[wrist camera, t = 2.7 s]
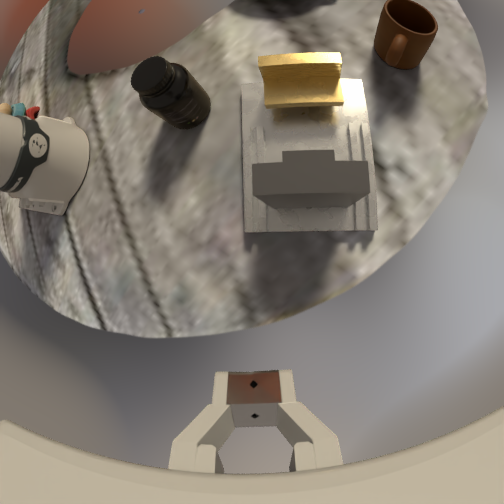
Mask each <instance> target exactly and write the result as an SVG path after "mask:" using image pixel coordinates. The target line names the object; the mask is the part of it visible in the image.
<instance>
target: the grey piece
mask: <svg viewBox="0 0 504 504" xmlns="http://www.w3.org/2000/svg"><path fill="white" fill-rule="evenodd" d="M258 65H259V69H260V72H261V75H262V78H263V82H259V83H250V84H242V139H243V186H244V227H245V232H289V231H363V230H378V221H377V198H376V183H375V171H374V160H373V151H372V142H371V134H370V127H369V120H368V113H367V107H366V101H365V96H364V90H363V85H362V80H359V79H340V73H341V66H342V61H341V56H340V53H295V54H279V55H268V56H258ZM294 150H334V153H335V161H368V168H369V181H370V193H369V194H368V195H366V196H365V197H363V198H362V199H360V200H359V201H357V202H356V203H354V204H353V205H351V206H350V207H301V208H271V207H270V206H268V205H267V204H265V203H264V202H262V201H261V200H259V199H258V198H256V197H255V196H253V189H252V164H257V163H273V162H283V161H282V151H294Z"/></svg>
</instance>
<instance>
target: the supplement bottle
mask: <svg viewBox="0 0 504 504" xmlns="http://www.w3.org/2000/svg"><path fill="white" fill-rule="evenodd" d="M131 85H132V87H133V88H134V90H136V91H137V92H138V93H139V97H140V101H141V103H142V104H143V106H144V107H146V108H147V109H148V110H150V111H151V112H153V113H154V114H156V115H157V116H159V117H160V118H162V119H163V120H165V121H166V122H168V123H169V124H171V125H172V126H174V127H176V128H178V129H190V128H193V127H195V126H197V125H199V124H200V123H201V122H203V121H204V119H205V118H206V117H207V115H208V113H209V111H210V106H211V102H210V98H209V96H208V94H207V93H206V91H205V90H204V89H203V88H202V87H201V85H200V84H199V83H198V82H197V81H196V80H195V78H194V77H193V76H192V75H191V74H190V73H189V71H188V70H187V69H186V68H185V67H183V66H182V65H180V64H177V63H169V62H168V61H167V60H165V59H164V58H162V57H159V56H157V57H156V56H154V57H150V58H148V59H146V60H144V61H143V62H141V63H140V64H139V65H138V66H137V68H136V69H135V70H134V72H133V74H132V77H131Z"/></svg>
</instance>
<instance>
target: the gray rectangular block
mask: <svg viewBox="0 0 504 504" xmlns="http://www.w3.org/2000/svg"><path fill="white" fill-rule="evenodd" d="M282 161H283V162H273V163H257V164H252V189H253V196H255V197H256V198H258V199H259V200H261V201H262V202H264V203H265V204H267V205H268V206H270V207H271V208H301V207H350V206H351V205H353V204H354V203H356V202H357V201H359V200H360V199H362V198H363V197H365V196H366V195H368V194H369V193H370V181H369V168H368V161H335V153H334V150H294V151H282Z"/></svg>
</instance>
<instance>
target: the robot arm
mask: <svg viewBox="0 0 504 504" xmlns="http://www.w3.org/2000/svg"><path fill="white" fill-rule="evenodd" d="M88 161H89V142H88V138H87V136H86V134H85V133H84V131H83V130H82V129H80V128H78V127H77V126H76V125H75V122H74V120H73V118H70V117H66V118H65V119H63V120H62V121H61V120H57V119H54V118H50V117H45V116H39V117H38V118H36V119H35V120H34V119H31V118H29V117H27V116H20V115H16V116H11V115H8V114H5V113H1V112H0V191H2V192H9V195H10V197H11V198H20V201H19V208H24V209H27V210H33V211H38V212H44V213H49V214H55V215H60V216H61V215H63V214H64V213H65V211H66V208H67V206H68V203H69V201H70V199H71V198H72V197H73V195H74V194H75V193H76V191H77V190H78V188H79V187H80V185H81V183H82V181H83V179H84V176H85V173H86V170H87V166H88ZM263 426H277V428H278V429H279V431H280V432H281V433H282V434H283V435H284V437H285V438H286V439H287V441H288V442H289V443H290V444H291V445H292V447H293V453H292V457H291V462H290V466H289V470H290V472H282V473H265V474H224V468H223V465H222V463H221V460H220V457H219V455H218V451H219V450H220V448H221V447H222V445H223V444H224V443H225V441H226V440H227V439H228V437H229V436H230V434H231V433H232V432H233V430H234V429H235V427H263ZM0 504H504V406H502V407H500V408H499V409H497V410H495V411H493V412H491V413H490V414H488V415H486V416H484V417H482V418H480V419H478V420H476V421H474V422H472V423H470V424H468V425H466V426H464V427H461V428H459V429H457V430H455V431H452V432H450V433H448V434H445V435H443V436H440V437H438V438H435V439H433V440H430V441H427V442H425V443H422V444H419V445H416V446H413V447H410V448H407V449H404V450H401V451H397V452H394V453H391V454H387V455H383V456H380V457H376V458H371V459H367V460H363V461H358V462H354V463H349V464H343V461H342V457H341V451H340V446H339V442H338V437H337V436H336V435H335V434H334V433H333V432H332V431H331V430H330V429H328V428H327V427H326V426H325V425H324V424H323V423H322V422H321V421H320V420H319V419H318V418H317V417H316V416H315V415H313V413H311V412H310V411H309V410H308V409H307V408H306V407H305V406H304V405H303V404H302V403H301V402H297V401H296V394H295V387H294V381H293V375H292V370H291V369H290V370H279V371H278V370H271V371H254V372H216V374H215V380H214V389H213V398H212V404H208V405H207V406H206V407H205V408H204V409H203V410H202V412H201V413H200V414H199V415H198V416H197V417H196V418H195V419H194V420H193V421H192V422H191V423H190V424H189V425H188V426H187V427H186V428H185V429H184V430H183V431H182V432H181V433H180V434H179V435H178V436H177V437H176V438H175V439H174V440H173V443H172V449H171V455H170V460H169V467H168V469H165V468H158V467H151V466H146V465H140V464H135V463H130V462H126V461H121V460H117V459H113V458H109V457H105V456H101V455H98V454H94V453H91V452H87V451H84V450H80V449H78V448H74V447H72V446H69V445H66V444H63V443H60V442H58V441H55V440H52V439H50V438H47V437H45V436H42V435H40V434H37V433H35V432H33V431H31V430H28V429H26V428H24V427H22V426H20V425H18V424H16V423H14V422H12V421H9V420H2V421H0Z"/></svg>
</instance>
